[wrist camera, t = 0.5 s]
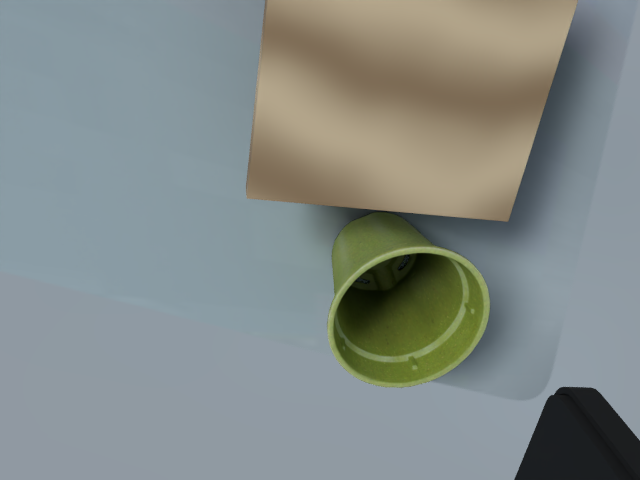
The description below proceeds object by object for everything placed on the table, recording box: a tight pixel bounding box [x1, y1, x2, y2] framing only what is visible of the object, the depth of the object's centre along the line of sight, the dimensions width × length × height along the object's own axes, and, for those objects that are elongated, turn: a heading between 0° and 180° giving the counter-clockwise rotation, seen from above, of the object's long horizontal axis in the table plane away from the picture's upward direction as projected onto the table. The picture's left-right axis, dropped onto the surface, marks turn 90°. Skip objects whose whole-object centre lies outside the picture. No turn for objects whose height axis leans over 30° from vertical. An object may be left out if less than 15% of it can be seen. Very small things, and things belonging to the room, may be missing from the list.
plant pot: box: [327, 212, 490, 388], centre depth 36 cm, size 9×9×9 cm
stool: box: [246, 0, 578, 222], centre depth 30 cm, size 14×14×8 cm
